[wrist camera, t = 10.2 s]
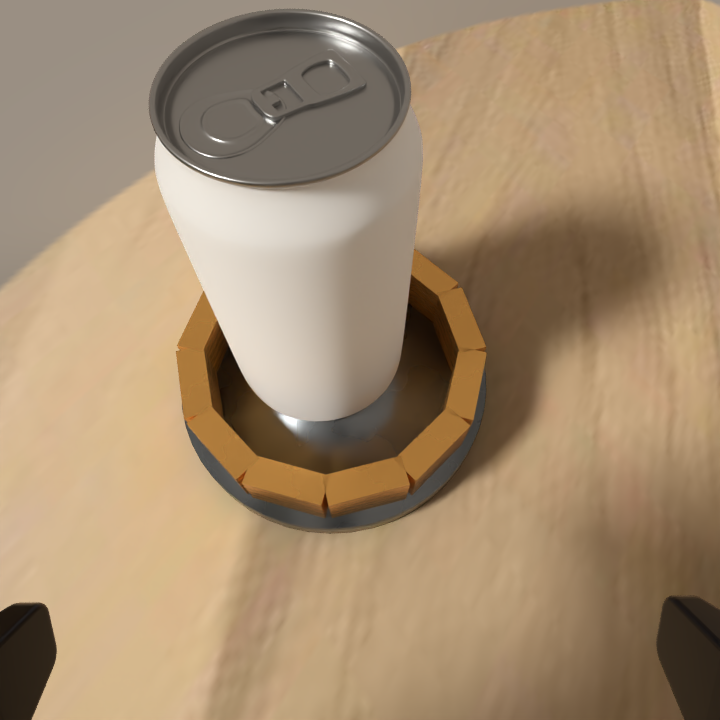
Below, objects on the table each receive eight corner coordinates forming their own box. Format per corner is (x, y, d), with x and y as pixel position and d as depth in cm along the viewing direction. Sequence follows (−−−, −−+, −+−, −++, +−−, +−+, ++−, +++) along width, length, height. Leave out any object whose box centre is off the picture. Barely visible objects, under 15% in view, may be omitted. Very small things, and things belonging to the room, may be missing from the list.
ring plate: (449, 574, 20) (462, 562, 17) (138, 484, 21) (105, 460, 19) (502, 297, 25) (519, 255, 22) (250, 242, 26) (237, 196, 24)
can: (213, 332, 23) (80, 62, 12) (344, 260, 25) (326, -34, 14) (293, 458, 21) (214, 255, 10) (433, 369, 22) (495, 112, 12)
